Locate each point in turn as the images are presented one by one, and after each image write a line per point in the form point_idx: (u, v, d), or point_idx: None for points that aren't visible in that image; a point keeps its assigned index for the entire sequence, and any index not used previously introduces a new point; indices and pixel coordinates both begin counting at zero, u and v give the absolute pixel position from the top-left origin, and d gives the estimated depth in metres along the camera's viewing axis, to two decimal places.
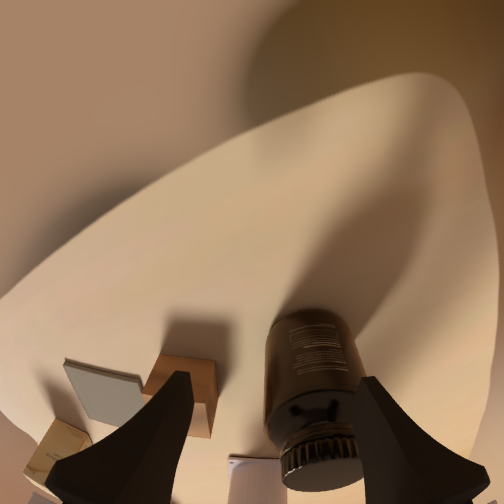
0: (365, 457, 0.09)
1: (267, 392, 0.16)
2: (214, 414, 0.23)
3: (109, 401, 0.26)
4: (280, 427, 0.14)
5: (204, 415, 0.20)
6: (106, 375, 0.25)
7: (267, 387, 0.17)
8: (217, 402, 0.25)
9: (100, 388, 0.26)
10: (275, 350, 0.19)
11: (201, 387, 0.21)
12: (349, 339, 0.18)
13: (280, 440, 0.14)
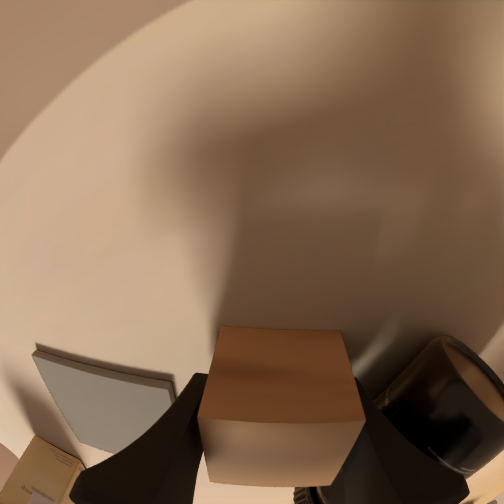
0: None
1: None
2: None
3: (111, 420, 0.15)
4: None
5: (347, 447, 0.08)
6: (106, 375, 0.13)
7: None
8: None
9: (95, 398, 0.14)
10: None
11: (340, 385, 0.09)
12: (471, 475, 0.07)
13: None
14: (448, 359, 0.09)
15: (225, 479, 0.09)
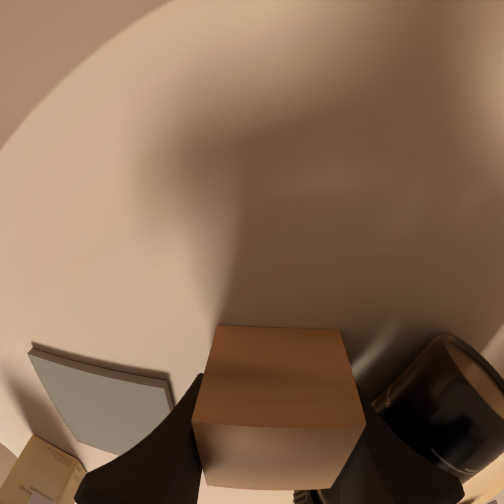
0: None
1: None
2: None
3: (108, 419, 0.14)
4: None
5: (347, 450, 0.08)
6: (102, 373, 0.13)
7: None
8: None
9: (91, 397, 0.14)
10: None
11: (339, 387, 0.09)
12: (473, 475, 0.07)
13: None
14: (451, 359, 0.08)
15: (222, 482, 0.09)
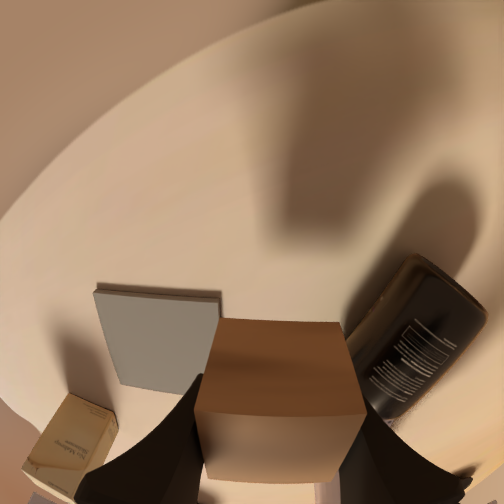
0: None
1: (352, 345, 0.16)
2: None
3: (160, 347, 0.21)
4: None
5: (348, 441, 0.08)
6: (165, 298, 0.19)
7: (356, 340, 0.16)
8: None
9: (150, 325, 0.20)
10: (389, 317, 0.14)
11: (340, 378, 0.09)
12: (456, 359, 0.13)
13: None
14: (419, 259, 0.14)
15: (223, 475, 0.09)
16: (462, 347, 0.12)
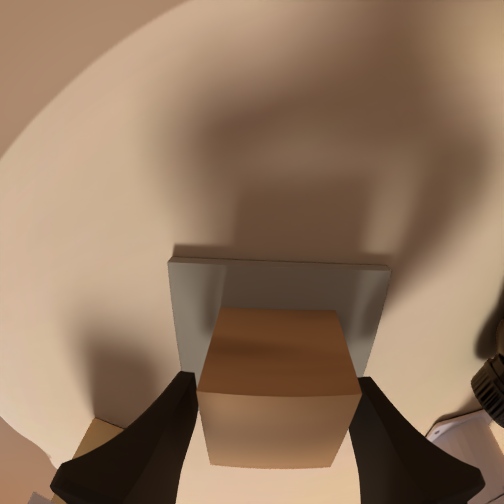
0: (360, 458, 0.09)
1: None
2: None
3: None
4: None
5: (345, 423, 0.08)
6: (308, 267, 0.12)
7: None
8: None
9: None
10: None
11: (336, 361, 0.09)
12: None
13: (501, 358, 0.11)
14: None
15: (225, 460, 0.10)
16: None
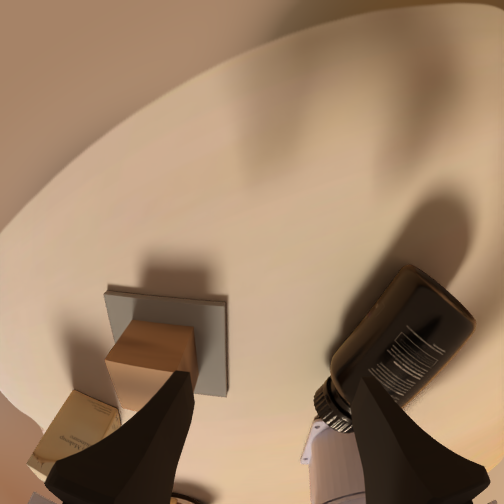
0: (365, 457, 0.09)
1: (349, 348, 0.18)
2: None
3: None
4: (332, 381, 0.18)
5: None
6: (174, 301, 0.20)
7: (353, 343, 0.17)
8: None
9: None
10: (383, 323, 0.16)
11: (173, 354, 0.18)
12: (445, 363, 0.14)
13: None
14: (413, 270, 0.16)
15: (128, 405, 0.18)
16: (450, 352, 0.14)
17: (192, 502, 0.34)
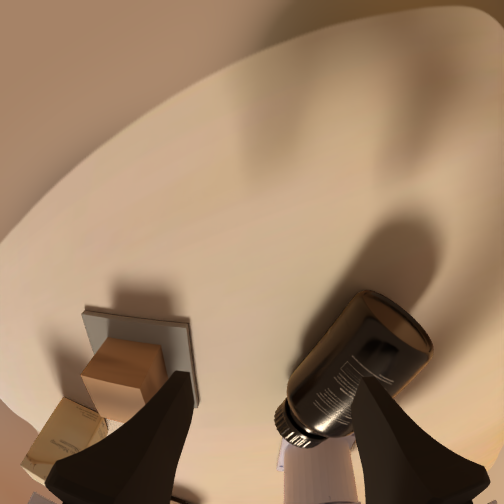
0: (365, 457, 0.09)
1: (302, 371, 0.18)
2: None
3: None
4: None
5: (142, 402, 0.18)
6: (142, 322, 0.21)
7: (305, 367, 0.18)
8: None
9: None
10: (331, 351, 0.17)
11: (140, 372, 0.19)
12: (396, 391, 0.15)
13: None
14: (363, 299, 0.16)
15: (104, 414, 0.19)
16: (400, 382, 0.14)
17: (180, 503, 0.35)
